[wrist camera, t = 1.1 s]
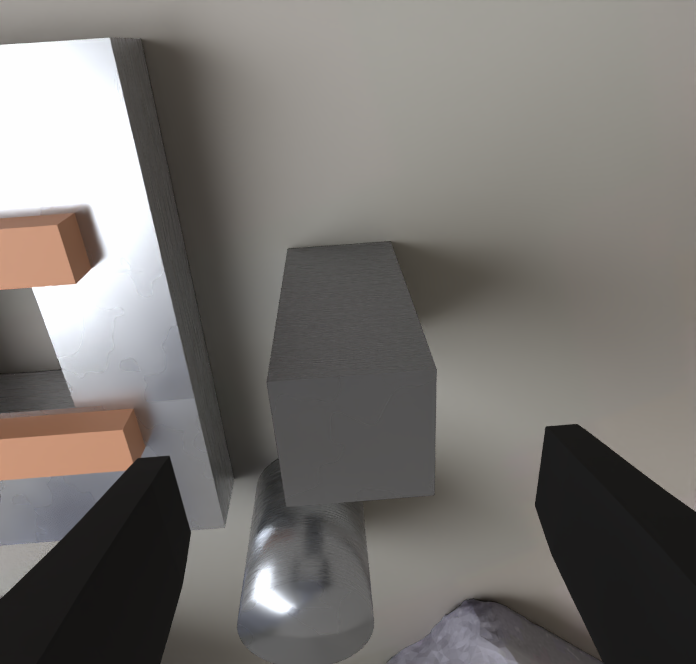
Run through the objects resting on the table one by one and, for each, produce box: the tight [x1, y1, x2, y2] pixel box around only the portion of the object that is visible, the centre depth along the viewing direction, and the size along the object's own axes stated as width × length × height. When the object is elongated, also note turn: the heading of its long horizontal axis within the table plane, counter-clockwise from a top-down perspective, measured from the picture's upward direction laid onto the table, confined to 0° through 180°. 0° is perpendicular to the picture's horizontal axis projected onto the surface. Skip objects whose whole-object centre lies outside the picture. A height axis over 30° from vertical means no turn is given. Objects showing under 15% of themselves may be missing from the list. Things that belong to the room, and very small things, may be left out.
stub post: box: [237, 459, 374, 664], centre depth 20 cm, size 4×4×6 cm
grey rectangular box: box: [267, 241, 437, 507], centre depth 15 cm, size 3×3×8 cm
